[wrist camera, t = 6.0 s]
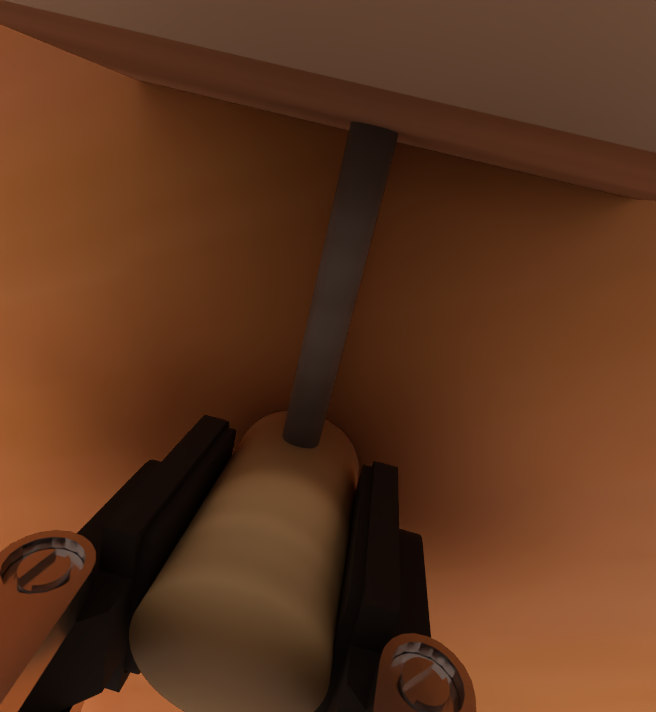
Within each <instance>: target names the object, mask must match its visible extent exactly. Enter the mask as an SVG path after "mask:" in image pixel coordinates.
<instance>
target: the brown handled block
mask: <svg viewBox="0 0 656 712" xmlns="http://www.w3.org/2000/svg"><path fill="white" fill-rule="evenodd" d="M0 24H1V25H4V26H6V27H9V28H11V29H14V30H16V31H18V32H21V33H23V34H26V35H28V36H31V37H33V38H36V39H38V40H40V41H43V42H45V43H48V44H50V45H53V46H55V47H58V48H60V49H62V50H65V51H67V52H70V53H72V54H75V55H77V56H79V57H82V58H84V59H87V60H89V61H92V62H94V63H97V64H99V65H101V66H104V67H106V68H109V69H111V70H114V71H116V72H119V73H121V74H123V75H126V76H128V77H131V78H133V79H136V80H140V81H144V82H148V83H153V84H157V85H161V86H165V87H169V88H173V89H178V90H182V91H186V92H190V93H194V94H199V95H203V96H207V97H211V98H215V99H219V100H224V101H228V102H232V103H236V104H240V105H244V106H249V107H253V108H257V109H261V110H265V111H270V112H274V113H278V114H282V115H286V116H290V117H295V118H299V119H303V120H307V121H311V122H316V123H320V124H324V125H328V126H332V127H336V128H341V129H345V130H349V133H348V138H347V142H346V147H345V151H344V156H343V160H342V165H341V170H340V174H339V179H338V183H337V188H336V192H335V197H334V201H333V206H332V211H331V215H330V220H329V224H328V229H327V233H326V238H325V242H324V247H323V252H322V256H321V261H320V265H319V270H318V274H317V279H316V283H315V288H314V292H313V297H312V302H311V306H310V311H309V315H308V320H307V324H306V329H305V333H304V338H303V343H302V347H301V352H300V356H299V361H298V365H297V370H296V374H295V379H294V384H293V388H292V393H291V397H290V402H289V406H288V411H280V412H276V413H272V414H269V415H267V416H265V417H263V418H261V419H260V420H258V421H257V422H256V423H254V424H253V425H252V426H251V427H250V428H249V430H248V431H247V432H246V434H245V435H244V437H243V439H242V440H241V442H240V444H239V445H238V447H237V448H236V450H235V452H234V453H233V455H232V456H231V458H230V460H229V461H228V463H227V464H226V466H225V468H224V469H223V471H222V472H221V474H220V476H219V477H218V479H217V481H216V482H215V484H214V485H213V487H212V489H211V490H210V492H209V493H208V495H207V497H206V498H205V500H204V501H203V503H202V505H201V506H200V508H199V510H198V511H197V513H196V514H195V516H194V518H193V519H192V521H191V522H190V524H189V526H188V527H187V529H186V530H185V532H184V534H183V535H182V537H181V538H180V540H179V542H178V543H177V545H176V547H175V548H174V550H173V551H172V553H171V555H170V556H169V558H168V559H167V561H166V563H165V564H164V566H163V567H162V569H161V571H160V572H159V574H158V576H157V577H156V579H155V580H154V582H153V584H152V585H151V587H150V588H149V590H148V592H147V593H146V595H145V596H144V598H143V600H142V601H141V603H140V604H139V606H138V608H137V609H136V611H135V613H134V615H133V617H132V620H131V623H130V628H129V642H130V648H131V652H132V655H133V658H134V660H135V662H136V664H137V666H138V668H139V670H140V671H141V673H142V674H143V676H144V677H145V679H146V680H147V681H148V682H149V683H150V685H151V686H152V687H153V688H154V689H155V690H156V691H157V692H158V693H159V694H160V695H162V696H163V697H164V698H165V699H167V700H168V701H169V702H170V703H172V704H173V705H175V706H176V707H178V708H179V709H181V710H183V711H185V712H314V711H315V710H316V709H317V708H318V707H319V706H320V704H321V703H322V702H323V700H324V698H325V696H326V694H327V691H328V687H329V683H330V676H331V669H332V662H333V645H334V638H335V631H336V624H337V617H338V610H339V603H340V596H341V589H342V582H343V575H344V568H345V561H346V554H347V547H348V540H349V533H350V526H351V519H352V512H353V505H354V498H355V491H356V487H357V482H358V475H359V464H358V458H357V454H356V452H355V449H354V447H353V445H352V443H351V442H350V440H349V439H348V438H347V436H346V435H345V434H344V433H343V432H342V431H341V430H340V429H339V428H338V427H337V426H336V425H334V424H333V423H331V422H330V421H328V420H327V419H325V418H326V415H327V411H328V407H329V403H330V399H331V395H332V391H333V387H334V383H335V379H336V376H337V372H338V368H339V364H340V360H341V356H342V352H343V348H344V344H345V341H346V337H347V333H348V329H349V325H350V321H351V317H352V313H353V309H354V305H355V302H356V298H357V294H358V290H359V286H360V282H361V278H362V274H363V270H364V267H365V263H366V259H367V255H368V251H369V247H370V243H371V239H372V235H373V232H374V228H375V224H376V220H377V216H378V212H379V208H380V204H381V200H382V196H383V193H384V189H385V185H386V181H387V177H388V173H389V169H390V165H391V161H392V158H393V154H394V150H395V146H396V142H399V143H403V144H407V145H412V146H416V147H420V148H424V149H428V150H432V151H437V152H441V153H445V154H449V155H453V156H458V157H462V158H466V159H470V160H474V161H478V162H483V163H487V164H491V165H495V166H499V167H503V168H508V169H512V170H516V171H520V172H524V173H529V174H533V175H537V176H541V177H545V178H549V179H554V180H558V181H562V182H566V183H570V184H574V185H579V186H583V187H587V188H591V189H595V190H600V191H604V192H608V193H612V194H616V195H620V196H625V197H629V198H633V199H638V200H656V0H0Z"/></svg>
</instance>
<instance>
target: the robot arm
mask: <svg viewBox="0 0 656 712" xmlns="http://www.w3.org/2000/svg"><path fill="white" fill-rule="evenodd" d="M235 434H236V430H235V429H232V428H229V421H226V420H223V419H219V418H215V417H212V416H208V415H204V416H203V417H202V418H201V419H200V420H199V422H198V423H197V424H196V425H195V426H194V427H193V428H192V429H191V430H190V431H189V432H188V434H187V435H186V436H185V437H184V438H183V439H182V440H181V441H180V442H179V443H178V444H177V445H176V447H175V448H174V449H173V450H172V451H171V452H170V453H169V454H168V455H167V456H166V457H165V459H164V460H163V461H162V462H160V461H156V460H149V461H148V462H147V463H145V464H144V465H143V466H142V467H141V468H140V469H139V470H138V471H137V472H136V473H135V474H134V476H133V477H132V478H131V479H130V480H129V481H128V482H127V483H126V484H125V485H124V486H123V487H122V488H121V489H120V490H119V491H118V492H117V493H116V494H115V495H114V496H113V497H112V498H111V499H110V500H109V501H108V502H107V503H106V504H105V505H104V506H103V507H102V508H101V509H100V510H99V511H98V512H97V513H96V514H95V515H94V516H93V517H92V519H91V520H90V521H89V522H88V523H87V524H86V525H85V526H84V527H83V528H82V529H81V530H80V531H79V532H78V533H77V534H76V533H74V532H70V531H59V530H54V531H45V532H39V533H36V534H32V535H29V536H26V537H24V538H22V539H20V540H18V541H16V542H14V543H12V544H10V545H9V546H7V547H6V548H5V549H4V550H2V551H1V552H0V712H81V709H82V707H83V704H84V701H85V700H86V699H89V698H91V697H93V696H95V695H97V694H99V693H102V691H103V690H104V688H107V689H110V690H113V691H116V692H120V690H121V688H122V686H123V685H124V683H125V681H126V679H127V678H128V676H129V674H130V672H131V673H135V674H140V673H141V671H140V670H139V668H138V666H137V664H136V662H135V660H134V658H133V655H132V652H131V648H130V642H129V628H130V623H131V620H132V617H133V615H134V613H135V611H136V609H137V608H138V606H139V604H140V603H141V601H142V600H143V598H144V596H145V595H146V593H147V592H148V590H149V588H150V587H151V585H152V584H153V582H154V580H155V579H156V577H157V576H158V574H159V572H160V571H161V569H162V567H163V566H164V564H165V563H166V561H167V559H168V558H169V556H170V555H171V553H172V551H173V550H174V548H175V547H176V545H177V543H178V542H179V540H180V538H181V537H182V535H183V534H184V532H185V530H186V529H187V527H188V526H189V524H190V522H191V521H192V519H193V518H194V516H195V514H196V513H197V511H198V510H199V508H200V506H201V505H202V503H203V501H204V500H205V498H206V497H207V495H208V493H209V492H210V490H211V489H212V487H213V485H214V484H215V482H216V481H217V479H218V477H219V476H220V474H221V472H222V471H223V469H224V468H225V466H226V464H227V463H228V461H229V460H230V458H231V456H232V452H233V446H234V441H235ZM314 712H476V699H475V693H474V688H473V684H472V680H471V679H470V677H469V675H468V673H467V671H466V669H465V667H464V665H463V664H462V663H461V662H460V660H459V659H458V658H457V657H456V655H455V654H454V653H453V652H451V651H450V650H449V649H448V648H447V647H445V646H444V645H443V644H442V643H440V642H438V641H436V640H434V639H432V638H431V633H430V621H429V610H428V599H427V587H426V576H425V565H424V553H423V542H422V537H421V536H420V535H419V534H416V533H412V532H409V531H405V530H402V529H399V501H398V468H397V467H395V466H391V465H387V464H384V463H380V462H376V461H374V462H373V464H372V467H371V466H367V465H363V467H362V470H361V474H360V477H359V481H358V484H357V487H356V491H355V498H354V505H353V512H352V519H351V526H350V533H349V540H348V547H347V554H346V561H345V568H344V575H343V582H342V589H341V596H340V603H339V610H338V617H337V624H336V631H335V638H334V645H333V662H332V669H331V676H330V683H329V687H328V691H327V694H326V696H325V698H324V700H323V702H322V703H321V704H320V706H319V707H318V708H317V709H316V710H315V711H314Z"/></svg>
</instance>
